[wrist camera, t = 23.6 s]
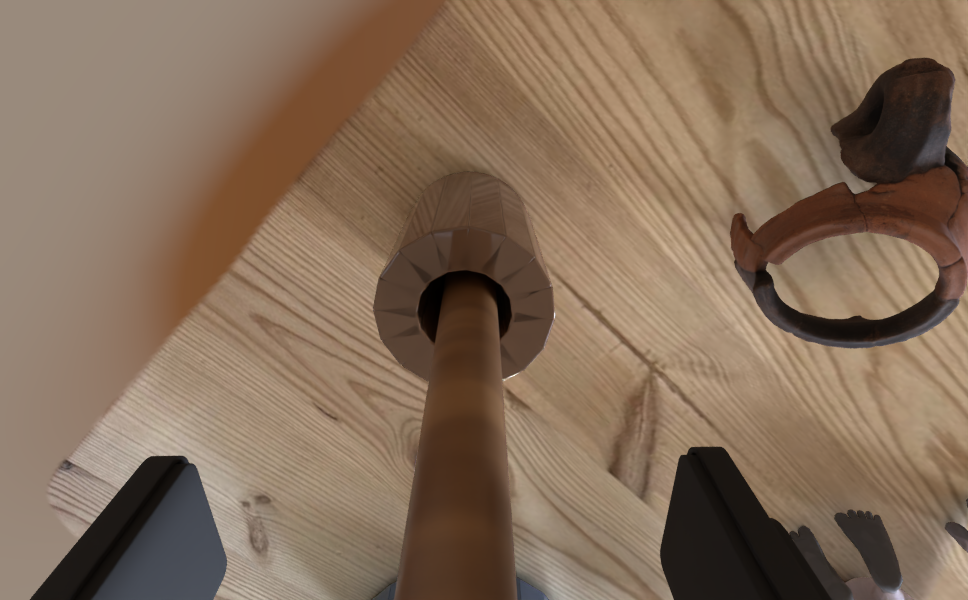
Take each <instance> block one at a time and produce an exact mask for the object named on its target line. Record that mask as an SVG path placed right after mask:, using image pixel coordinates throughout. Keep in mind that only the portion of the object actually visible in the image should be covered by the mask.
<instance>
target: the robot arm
mask: <svg viewBox="0 0 968 600" xmlns="http://www.w3.org/2000/svg"><path fill="white" fill-rule="evenodd" d="M660 558H661V564H662V568H663V571H664V574H665V577H666V579H667V582H668V585H669V587H670V590H671V593H672V596H673V598H674V600H832V599H831V597H830V596H829V594H828V593H827V591H826V590H825V588H824V587H823V585H822V584H821V582H820V581H819V579H818V578H817V576H816V575H815V573H814V572H813V570H812V569H811V567H810V566H809V564H808V562H807V561H806V559H805V558H804V556H803V555H802V553H801V552H800V550H799V549H798V547H797V546H796V544H795V543H794V541H793V540H792V538H791V537H790V535H789V534H788V532H787V531H786V530H785V528H784V527H783V526H782V525H781V523H779V522H778V521H777V520H775V519H773V518H769V516H768V515H767V513H766V512H765V510H764V509H763V507H762V505H761V504H760V502H759V501H758V499H757V498H756V496H755V495H754V493H753V491H752V490H751V488H750V487H749V485H748V484H747V482H746V481H745V479H744V477H743V476H742V474H741V473H740V471H739V470H738V468H737V466H736V465H735V463H734V462H733V460H732V459H731V457H730V456H729V454H728V452H727V451H726V450H725V449H724V448H722V447H691V448H690V449H689V450H688V453H687V455H681V456H680V458H679V462H678V466H677V471H676V476H675V481H674V486H673V491H672V495H671V500H670V505H669V510H668V515H667V519H666V524H665V529H664V534H663V539H662V544H661V549H660ZM226 566H227V558H226V554H225V551H224V548H223V545H222V542H221V539H220V536H219V533H218V530H217V527H216V524H215V521H214V518H213V515H212V512H211V509H210V506H209V503H208V500H207V497H206V494H205V491H204V488H203V485H202V482H201V479H200V476H199V473H198V470H197V468H196V466H195V465H194V464H191V463H189V462H188V460H187V458H185V457H184V456H151V457H149V458H147V459H146V460H145V461H144V462H143V463H142V464H141V465H140V466H139V468H138V469H137V470H136V471H135V472H134V474H133V475H132V476H131V477H130V479H129V480H128V481H127V482H126V483H125V485H124V486H123V487H122V488H121V489H120V491H119V492H118V493H117V494H116V496H115V497H114V498H113V499H112V500H111V502H110V503H109V504H108V505H107V506H106V508H105V509H104V510H103V511H102V513H101V514H100V515H99V516H98V517H97V519H96V520H95V521H94V522H93V523H92V525H91V526H90V527H89V528H88V530H87V531H86V532H85V533H84V534H83V536H82V537H81V538H80V539H79V540H78V542H77V543H76V544H75V545H74V547H73V548H72V549H71V550H70V552H69V553H68V554H67V555H66V556H65V558H64V559H63V560H62V561H61V562H60V564H59V565H58V566H57V567H56V568H55V570H54V571H53V572H52V573H51V575H50V576H49V577H48V578H47V579H46V581H45V582H44V583H43V584H42V585H41V587H40V588H39V589H38V590H37V591H36V593H35V594H34V595H33V596H32V597H31V599H30V600H213V599H214V597H215V595H216V593H217V591H218V588H219V586H220V584H221V582H222V580H223V578H224V575H225V572H226Z"/></svg>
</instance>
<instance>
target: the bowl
mask: <svg viewBox="0 0 968 600" xmlns="http://www.w3.org/2000/svg"><path fill="white" fill-rule="evenodd" d="M396 584H397V582H395V583H392V584H390V585H389V586H388V587H386V588H385V589H384V590H383V591H382V592H380V593H379V594H378V595H377V596H376V597H374V598H373V599H372V600H394V596H395V590H396ZM516 586H517V600H549V599H548V598H547V596H546V595H545V594H544V593H543V592H541V591H540V590H538V589H536V588H535V587H533V586H531V585H530V584H528V583H526V582H525V581H523V580H521V579H519V578H518V577H516Z"/></svg>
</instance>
